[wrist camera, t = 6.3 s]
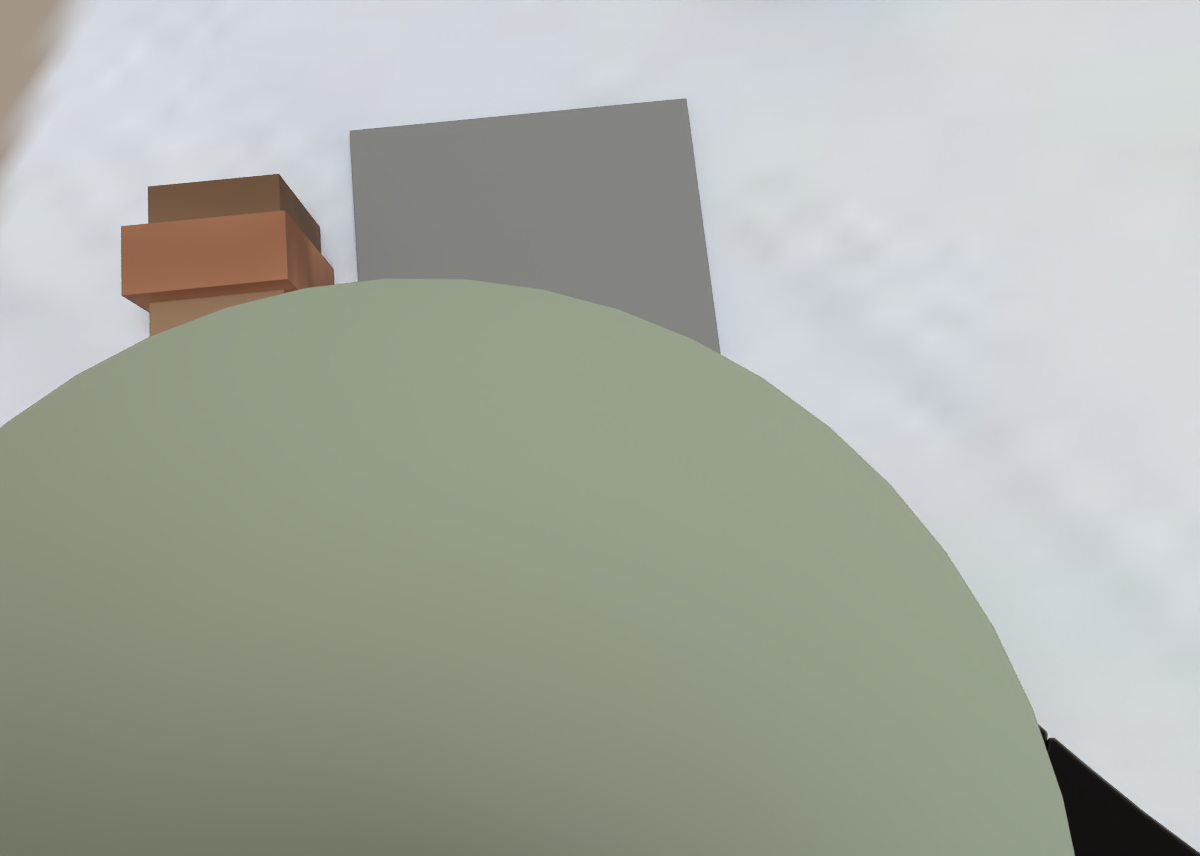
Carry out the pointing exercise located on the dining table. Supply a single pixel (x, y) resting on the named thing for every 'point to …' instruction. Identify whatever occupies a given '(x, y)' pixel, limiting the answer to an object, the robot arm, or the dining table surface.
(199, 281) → the post
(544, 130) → the slate pad
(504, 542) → the sage green knob
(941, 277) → the dining table surface
